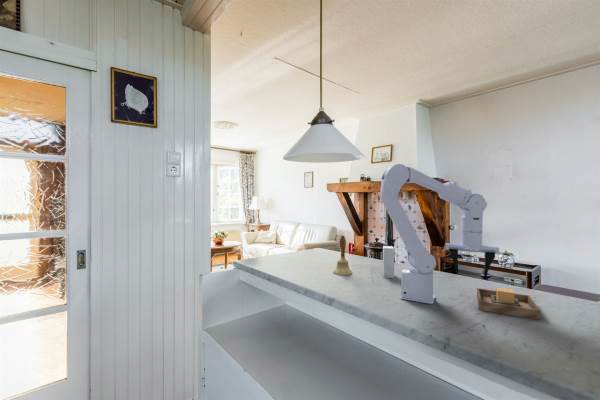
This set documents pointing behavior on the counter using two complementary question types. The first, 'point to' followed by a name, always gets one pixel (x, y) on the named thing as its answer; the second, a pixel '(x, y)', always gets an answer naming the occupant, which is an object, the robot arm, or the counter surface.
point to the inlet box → (508, 304)
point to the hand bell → (342, 260)
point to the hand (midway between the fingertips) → (470, 274)
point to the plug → (505, 295)
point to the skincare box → (388, 261)
